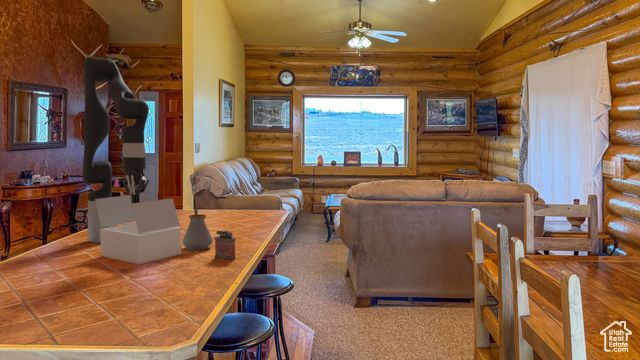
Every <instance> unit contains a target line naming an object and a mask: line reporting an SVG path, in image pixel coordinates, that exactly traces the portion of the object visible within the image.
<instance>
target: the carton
mask: <svg viewBox="0 0 640 360" xmlns="http://www.w3.org/2000/svg"><path fill="white" fill-rule="evenodd" d="M181 229H182V228H181V227H180V226H176V227H171V228H166V229H160V230H155V231H150V232H145V233H139V231H138V227H137V223H136V222H131V223H125V224H119V225H113V227H108V228H102V229H100V238H101V242H100V256H101V257H105V258H108V259H114V260H116V261H117V260H118V261H121V262H127V263H130V264H135V265H144V264H149V263H151V262H156V261H159V260H163V259H167V258H171V257H174V256H175V257H176V256H178V255H182V233H181V232H182V230H181Z"/></svg>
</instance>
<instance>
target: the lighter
mask: <svg viewBox="0 0 640 360" xmlns="http://www.w3.org/2000/svg"><path fill="white" fill-rule="evenodd" d="M216 235H219V236H214V242H215V243H214V247H215V248H214V249H215V250H214V251H215V252H214V253H215V255H214V258H215V259H217V258H218V259H219V260H225V259H234V260H236V259H237V256H236V241H237V239H236V237H233V232H232V231H229V230H216Z"/></svg>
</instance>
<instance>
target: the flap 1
mask: <svg viewBox="0 0 640 360" xmlns="http://www.w3.org/2000/svg"><path fill="white" fill-rule="evenodd" d="M95 201H96V206H97V211H98V216H99V221H100V226H101V227H106V226H112V225H113V226H119V225H125V224H131V223H136V220H135V216H134V212H133V208H132V202H131V194H130V195H121V196H112V197H109V198H100V199H95Z"/></svg>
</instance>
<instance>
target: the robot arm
mask: <svg viewBox="0 0 640 360" xmlns="http://www.w3.org/2000/svg"><path fill="white" fill-rule="evenodd" d="M82 67H83V69H82V70H83V71H82V72H83V86H84V113H83V115H84V116H83V117H84V118H83V132H84V133H83V135H84V137H83V139H84V141H83V143H84V145H83V147H84V148H83V157H82V158H83V159H82V170H81V171H82V180H83V183H84V184H86V185H87V184H88V185H93V184H94V185H95V184H102V185H101V186H100V187H99V188H98V189H96V190H94V191H91V192H89V193H88V194H87V210H88V211H87V215H88V216H87V235H88V236H87V237H88V238H87V239H88V241H89V242H90V243H95V244H96V243H97V244H98V243H100V244H101V238H100V229H102V228H108V227H114V225H112V226H106V227H101V226H100V221H99V216H98V211H97V206H96V201H95V199H100V198H109V197H113V188H112V187H113V185H112V184H113V168H112V164H111V162H110V161H107V160H102V161H101V160H98V161H97V160H96V161H95V160H94V157H95V154H96V152H97V151H98V149H99V147H100V146H101V145H102V143H103V142H104V141H105V139H106V138H107V137H108V135H109V132H110V126H111V125H110V122H111V121H110V119H111V117H110V112H109V110H108V109H107V107H106V106H105V105H104V103H103V102H102V100H101V98H100V97H99V95H98V92H97V87H96V83H109V84H108V87H107V92H108V95H109V97H110V98H111V100H112V101H113V102H114V104H115V109H116V110H115V111H116V114H117V116H118V117H119V118H121V119H125V120H135V121H134V123H133V124H132V125H127V126H124V127H123V128H122V151H121V153H122V170H124V171H125V176H124V177H122V178H121V180H120V181H121V183H122V185H123V187H124V188H125V189H124V190H125V191H126V193H129V194H130V195H131V202H132V203H140V202H141V199H140V195H141V194H142V193H144V192H145V190H146V189H147V186H148V185H149V183H150V180H149V178H146V177H145V172H144V170H145V169H147V168H146V167H147V166H146V165H147V163H146V160H147V159H146V158H147V157H146V145H145V128H146V124H147V119H148V116H149V109H150V108H149V105H148V103H147V101H146V100H145V99H141V98H135V96H134V93H133V91H132V90H131V89H130V88H129V87H128V86H127V84H126V83H125V81H124V79H123V77H122V75H121V73H120V70H119V68H118V66H117V63H115V61H114V60H112V59H111V58H107V57H97V56H87V57H86V58H85V59H84V61H83V66H82Z"/></svg>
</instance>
